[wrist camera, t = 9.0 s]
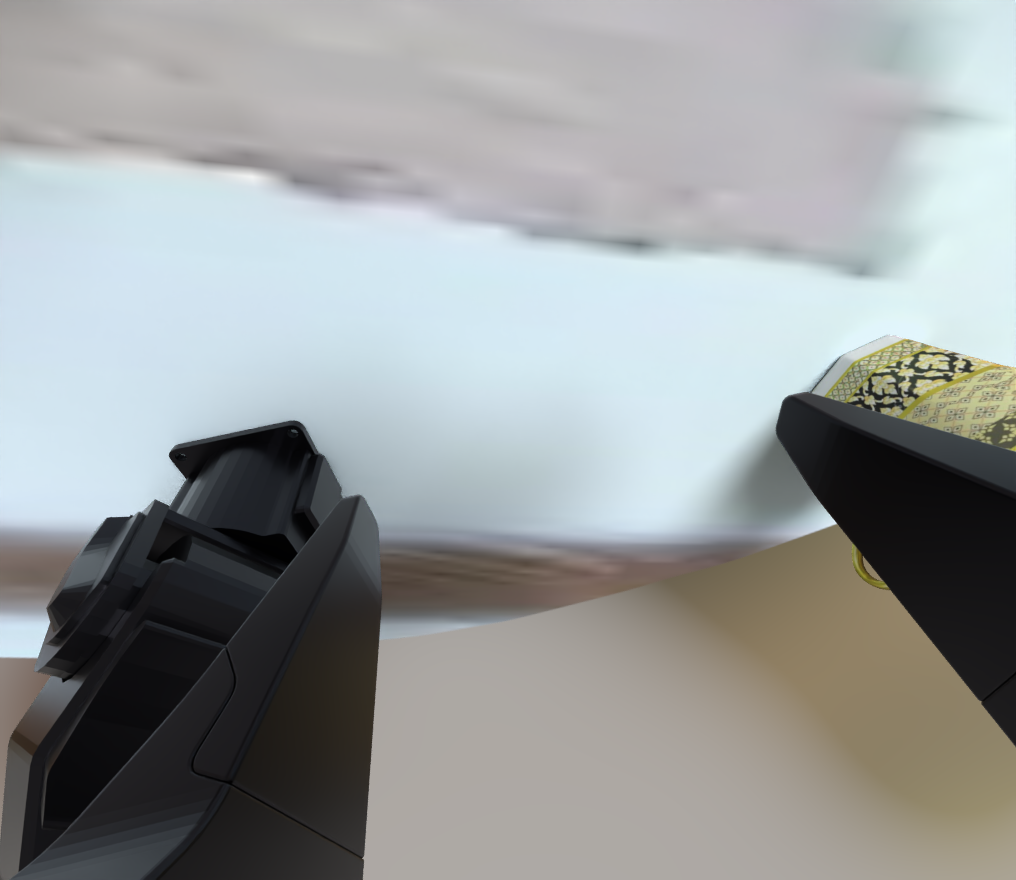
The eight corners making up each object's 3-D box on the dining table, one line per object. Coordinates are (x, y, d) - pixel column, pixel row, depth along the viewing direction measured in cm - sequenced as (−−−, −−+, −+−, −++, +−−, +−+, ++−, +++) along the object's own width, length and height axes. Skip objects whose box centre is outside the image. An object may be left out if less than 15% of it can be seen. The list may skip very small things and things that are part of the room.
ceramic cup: (868, 281, 23) (1104, 376, 15) (982, 333, 26) (1224, 434, 18) (718, 471, 30) (827, 605, 22) (824, 493, 33) (951, 617, 25)
